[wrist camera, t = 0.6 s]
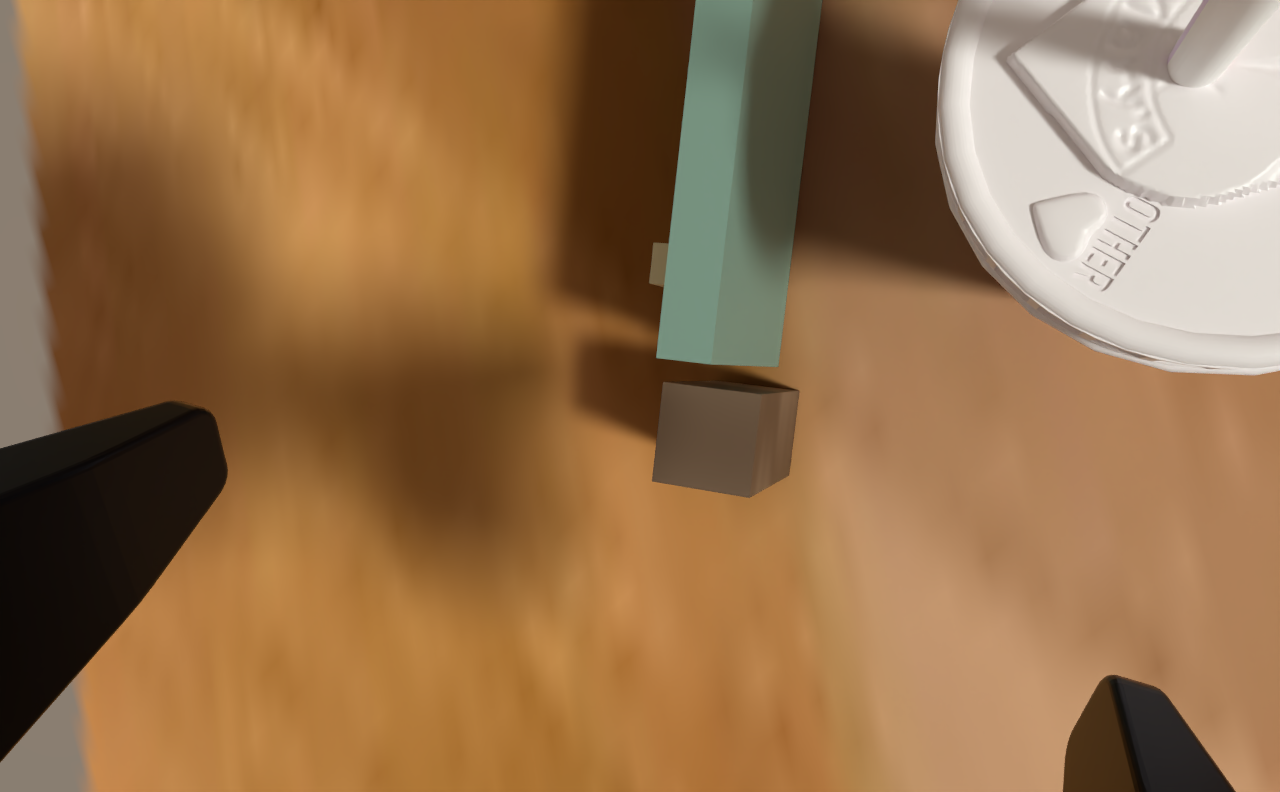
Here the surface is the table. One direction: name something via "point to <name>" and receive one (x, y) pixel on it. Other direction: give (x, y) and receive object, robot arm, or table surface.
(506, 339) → the table surface
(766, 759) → the table surface
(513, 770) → the table surface
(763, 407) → the brown block
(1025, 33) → the smoothie
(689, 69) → the green block
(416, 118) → the table surface
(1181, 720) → the robot arm
